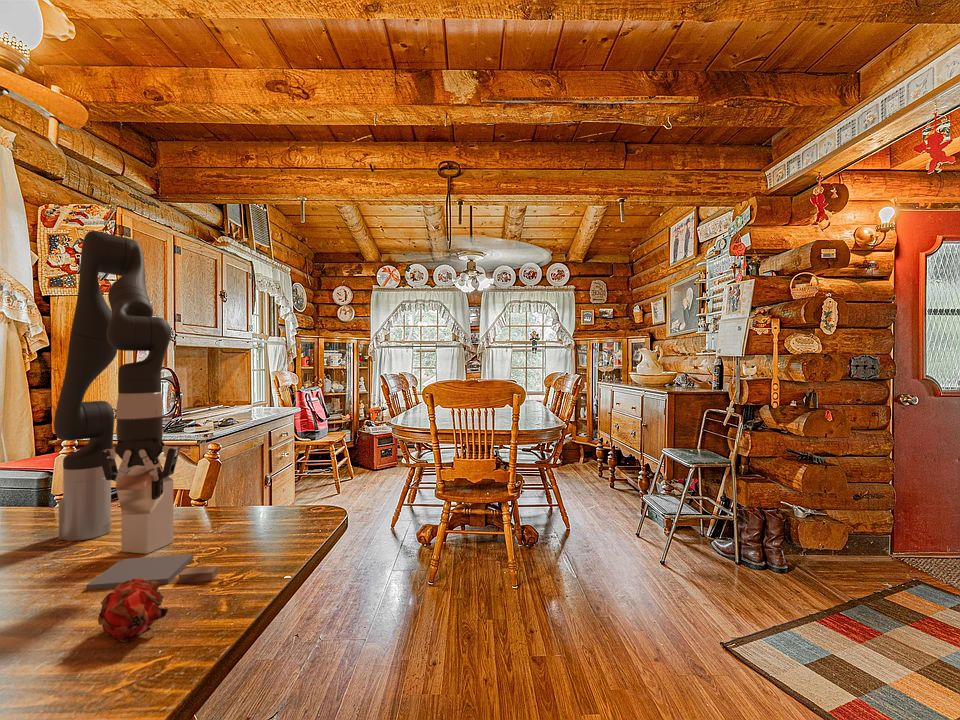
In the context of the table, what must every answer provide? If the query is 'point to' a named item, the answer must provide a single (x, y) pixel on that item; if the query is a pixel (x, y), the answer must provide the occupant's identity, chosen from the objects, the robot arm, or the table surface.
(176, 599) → the table surface
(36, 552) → the table surface
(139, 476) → the pinkish tan block
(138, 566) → the charcoal mat
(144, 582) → the dragon fruit
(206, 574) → the block
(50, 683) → the table surface
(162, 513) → the milk carton
